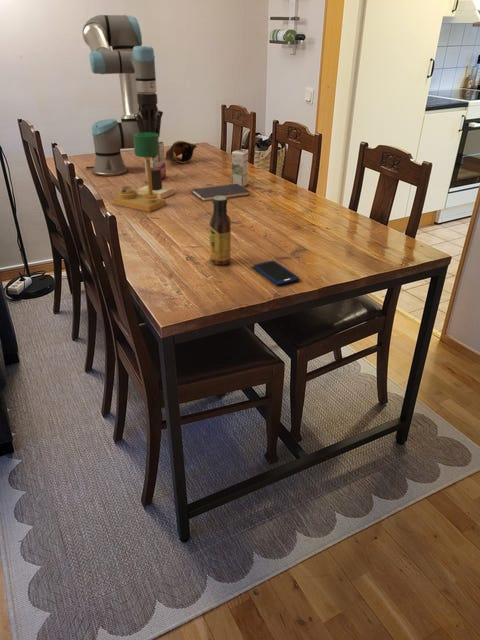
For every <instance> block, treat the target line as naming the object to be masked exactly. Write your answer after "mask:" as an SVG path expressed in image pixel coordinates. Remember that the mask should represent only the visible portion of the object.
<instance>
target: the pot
mask: <svg viewBox="0 0 480 640" xmlns="http://www.w3.org/2000/svg"><path fill="white" fill-rule="evenodd" d="M197 146H199V143H191V142H187V141H183V140H178V141H175V142H173V143H172V145H171V146H170V148H168V149H167V150H166V152H165V158H166V159H169V160H170V161H172V162H174V161H176V162H177V163H179V164H185V163H189V162H190V161H191V160H192V158H193V156H194V151H195V149H196V148H197ZM179 156H181V159H177V157H179Z"/></svg>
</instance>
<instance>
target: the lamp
mask: <svg viewBox="0 0 480 640" xmlns="http://www.w3.org/2000/svg"><path fill="white" fill-rule="evenodd" d="M133 140H134V148H133V149H134V155H135V156H136V157H138V158H139V157H140V158H143V160H144V159H146V170H147V181H148V182H147V185H148V192H149V193H148V194H145V195H144V197H145V198H146V199H154V198H157V197H158V196H157V194H155V193H153V190H152V178H151V166H150V159H151V157H154V156H158V155H159V154H160V153H159V141H160V140H159V138H158V134H157V133H153V132H140V133H135V134H133Z"/></svg>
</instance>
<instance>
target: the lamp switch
mask: <svg viewBox="0 0 480 640" xmlns="http://www.w3.org/2000/svg"><path fill="white" fill-rule="evenodd" d="M132 190H133V187H132V186H130V185H129V186H122V187H121V191H122V194H131V193H132Z"/></svg>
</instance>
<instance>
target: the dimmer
mask: <svg viewBox="0 0 480 640" xmlns="http://www.w3.org/2000/svg"><path fill="white" fill-rule="evenodd" d="M136 191H137V194H140V195H145V194H148V193H149V192H148V184H147V185H144V186H141V187H139V188H137V190H136ZM153 193H155V194H157V196H158V197H157V198H160V199H166V198H167V197H170V196H172V195H174V194H175V191H174V187H170V186H164V185H163V184H162V189H160V190H153Z"/></svg>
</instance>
